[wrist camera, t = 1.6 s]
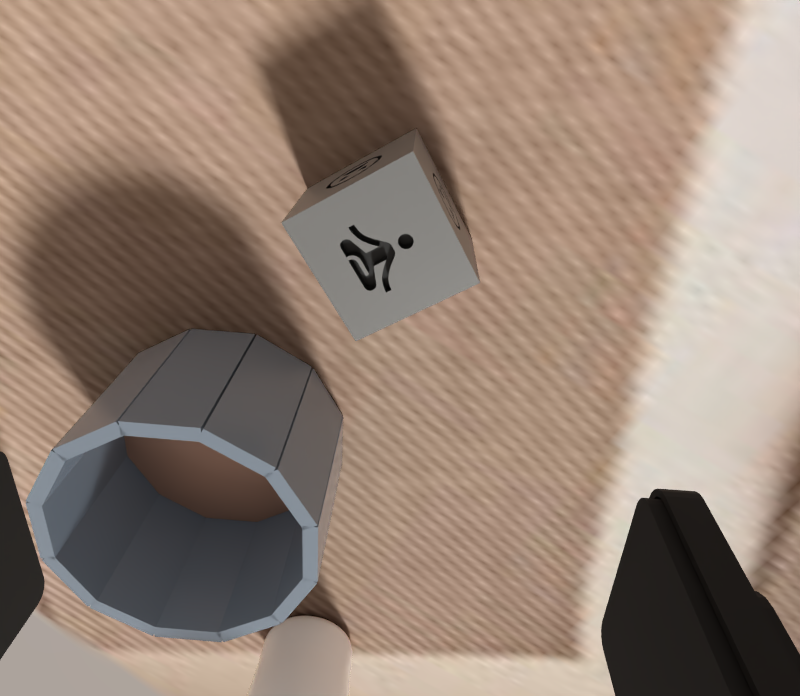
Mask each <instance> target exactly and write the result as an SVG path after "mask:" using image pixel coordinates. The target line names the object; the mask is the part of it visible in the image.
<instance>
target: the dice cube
mask: <svg viewBox="0 0 800 696" xmlns="http://www.w3.org/2000/svg"><path fill="white" fill-rule="evenodd" d="M282 225H283V226H284V228H285V229H286V231H287V233H288V234H289V236H290V237H291V239H292V241H293V242H294V244H295V245H296V247H297V249H298V250H299V252H300V253H301V255H302V257H303V258H304V260H305V261H306V263H307V264H308V266H309V268H310V269H311V271H312V272H313V274H314V276H315V277H316V279H317V280H318V282H319V284H320V285H321V287H322V288H323V290H324V292H325V293H326V295H327V296H328V298H329V299H330V301H331V303H332V304H333V306H334V307H335V309H336V311H337V312H338V314H339V315H340V317H341V319H342V320H343V322H344V323H345V325H346V327H347V328H348V330H349V331H350V333H351V335H352V336H353V338H354V339H355V341H357V340H359V339H362V338H364V337H366V336H368V335H370V334H372V333H374V332H377V331H379V330H381V329H383V328H385V327H387V326H389V325H391V324H394V323H396V322H398V321H400V320H402V319H404V318H406V317H408V316H411V315H413V314H415V313H417V312H419V311H421V310H423V309H426V308H428V307H430V306H432V305H434V304H436V303H438V302H440V301H443V300H445V299H447V298H449V297H451V296H453V295H455V294H457V293H460V292H462V291H464V290H466V289H468V288H470V287H472V286H474V285H477V284H479V283H480V280H479V275H478V269H477V264H476V258H475V253H474V248H473V242H472V239H471V237H470V235H469V233H468V231H467V229H466V227H465V225H464V223H463V221H462V219H461V217H460V215H459V213H458V211H457V209H456V206H455V204H454V202H453V200H452V198H451V196H450V194H449V192H448V190H447V188H446V186H445V184H444V182H443V180H442V178H441V176H440V174H439V172H438V170H437V168H436V166H435V164H434V162H433V160H432V158H431V156H430V154H429V152H428V150H427V148H426V146H425V144H424V142H423V140H422V138H421V136H420V134H419V132H418V130H417V128H416V129H414V130H412V131H410V132H409V133H407V134H405V135H403V136H401V137H399V138H398V139H396V140H394V141H392V142H390V143H389V144H387V145H385V146H383V147H381V148H380V149H378V150H376V151H374V152H372V153H371V154H369V155H367V156H365V157H363V158H362V159H360V160H358V161H356V162H354V163H353V164H351V165H349V166H347V167H345V168H344V169H342V170H340V171H338V172H336V173H334V174H333V175H331V176H329V177H327V178H325V179H324V180H322V181H320V182H318V183H316V184H315V185H313V186H311V187H309V188H307V190H306V191H305V192H304V194H303V195H302V196H301V198H300V199H299V200H298V201H297V203H296V204H295V205H294V207H293V208H292V209H291V211H290V212H289V213H288V215H287V216H286V217H285V219H284V220H283V221H282Z"/></svg>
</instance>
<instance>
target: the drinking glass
mask: <svg viewBox="0 0 800 696" xmlns="http://www.w3.org/2000/svg"><path fill="white" fill-rule="evenodd" d="M352 657H353V651H352V645H351V642H350V640H349V638H348V636H347V634H346V633H345V632H344V631H343V630H342V629H341V628H340V627H339V626H337V625H336V624H334V623H332V622H330V621H328V620H326V619H323V618H320V617H315V616H295V617H290V618H287V619H285V621H284V622H283V623H281V624H279V625H276V626H274V627H273V628H272V629H271V630H270V631H269V633H268V634H267V636H266V639H265V641H264V645H263V648H262V652H261V655H260V659H259V663H258V666H257V669H256V671H255V674H254V677H253V680H252V683H251V685H250V688H249V691H248V694H247V696H349V684H350V674H351V666H352Z"/></svg>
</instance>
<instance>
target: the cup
mask: <svg viewBox="0 0 800 696" xmlns="http://www.w3.org/2000/svg"><path fill="white" fill-rule="evenodd" d="M342 441H343V415H342V414H341V412H340V410H339V409H338V407H337V406H336V404H335V402H334V401H333V399H332V398H331V396H330V394H329V393H328V391H327V390H326V388H325V386H324V385H323V383H322V382H321V380H320V378H319V377H318V375H317V374H316V372H315V370H314V369H313V368H312V369H311V366H310V365H308V364H306V363H304V362H303V361H301V360H299V359H298V358H296V357H294V356H293V355H291V354H289V353H287V352H286V351H284V350H282V349H281V348H279V347H277V346H276V345H274V344H272V343H270V342H269V341H267V340H265V339H264V338H262V337H260V336H259V335H256V337H255V334H250V333H237V332H225V331H213V330H200V329H191V330H190V329H189V330H187V331H185V332H182V333H180V334H178V335H176V336H174V337H172V338H170V339H167V340H165V341H163V342H161V343H159V344H157V345H155V346H152V347H150V348H148V349H146V350H144V351H142V352H139V353H138V354H137V355H136V356H135V358H134V359H133V360H132V361H131V362H130V363H129V364H128V365H127V366H126V368H125V369H124V370H123V371H122V372H121V373H120V374H119V375H118V377H117V378H116V379H115V380H114V381H113V382H112V383H111V384H110V385H109V387H108V388H107V389H106V390H105V391H104V392H103V393H102V394H101V395H100V397H99V398H98V399H97V400H96V401H95V402H94V403H93V404H92V405H91V407H90V408H89V409H88V410H87V411H86V412H85V413H84V414H83V416H82V417H81V418H80V419H79V420H78V421H77V422H76V423H75V424H74V426H73V427H72V428H71V429H70V430H69V431H68V432H67V433H66V434H65V436H64V437H63V438H62V439H61V440H60V441H59V442H58V443H57V445H56V446H55V447H54V448H53V449H52V450H51V452H50V454H49V456H48V458H47V460H46V462H45V464H44V466H43V468H42V470H41V472H40V474H39V476H38V478H37V480H36V482H35V484H34V486H33V488H32V490H31V492H30V494H29V496H28V498H27V500H26V501H27V502H26V506H27V510H28V513H29V517H30V521H31V524H32V528H33V532H34V535H35V539H36V543H37V546H38V550H39V554H40V557H41V558H43V559H42V561H43V562H44V563H45V564H46V565H47V566H48V567H49V568H50V569H51V570H52V571H53V572H54V573H55V574H56V575H57V576H58V577H59V578H60V579H61V580H62V581H63V582H64V583H65V584H66V585H67V586H68V587H69V588H70V589H71V590H72V591H73V592H74V593H75V594H76V595H77V596H78V597H79V598H80V599H81V600H82V601H83V602H84V603H85V604H86V605H87V606H90V605H91V606H90V608H91V609H94V610H96V611H98V612H100V613H103V614H105V615H107V616H109V617H112V618H114V619H116V620H118V621H120V622H123V623H125V624H127V625H129V626H132V627H134V628H136V629H138V630H141V631H143V632H145V633H147V634H150V635H152V636H153V635H155V636H156V637H167V638H179V639H190V640H202V641H214V642H222V641H223V642H225V641H228V640H231V639H235V638H238V637H241V636H244V635H247V634H251V633H254V632H257V631H260V630H263V629H267V628H270V627H273V626H276V625H279V624H281V623H283V622H284V621H285V619H286V618H287V617H288V616H289V615H290V614H291V613H292V611H293V610H294V609H295V608H296V607H297V606H298V605H299V603H300V602H301V601H302V600H303V599H304V598H305V597H306V595H307V594H308V593H309V592H310V591H311V590H312V589H313V587H314V586H315V585H316V584H317V582H318V578H319V573H320V568H321V563H322V558H323V553H324V549H325V544H326V539H327V534H328V529H329V524H330V520H331V515H332V510H333V505H334V500H335V495H336V491H337V486H338V481H339V476H340V471H341V466H342Z"/></svg>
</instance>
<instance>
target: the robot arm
mask: <svg viewBox="0 0 800 696" xmlns="http://www.w3.org/2000/svg"><path fill="white" fill-rule="evenodd" d="M43 590H44V576H43V573H42V570H41V566H40V563H39V560H38V557H37V553H36V550H35V547H34V544H33V540H32V537H31V534H30V531H29V527H28V524H27V521H26V518H25V514H24V511H23V508H22V505H21V502H20V498H19V495H18V492H17V489H16V485H15V482H14V479H13V476H12V472H11V469H10V466H9V463H8V459H7V457H6V455H5V454H4V453H3V452H0V659H1V658H2V656H3V655H4V653H5V652H6V650H7V649H8V647H9V646H10V645H11V643H12V642H13V640H14V639H15V637H16V636H17V634H18V633H19V631H20V630H21V628H22V627H23V625H24V624H25V623H26V621H27V620H28V618H29V617H30V615H31V614H32V612H33V611H34V609H35V608H36V606H37V605H38V603H39V601H40V599H41V597H42V594H43ZM601 637H602V645H603V650H604V654H605V658H606V662H607V665H608V669H609V673H610V677H611V681H612V684H613V688H614V692H615V696H800V654H799V652H798V651H797V649H796V647H795V645H794V644H793V642H792V640H791V638H790V637H789V635H788V633H787V631H786V630H785V628H784V626H783V624H782V623H781V621H780V619H779V617H778V615H777V614H776V612H775V610H774V608H773V607H772V606H771V604H770V603H769V602H768V600H767V599H766V598H765V597H764V596H763V595H761V594H760V593H759V592H757V591H754V589H753V588H752V586H751V584H750V582H749V580H748V579H747V577H746V575H745V573H744V571H743V570H742V568H741V566H740V564H739V562H738V561H737V559H736V557H735V555H734V553H733V552H732V550H731V548H730V546H729V544H728V542H727V541H726V539H725V537H724V535H723V533H722V532H721V530H720V528H719V526H718V524H717V523H716V521H715V519H714V517H713V515H712V514H711V512H710V510H709V508H708V506H707V505H706V503H705V501H704V499H703V498H702V496H701V495H700V494H699V493H697V492H695V491H681V490H668V489H655V490H654V491H653V492H652V493H651V495H650V498H641V499H640V500H639V501H638V503H637V506H636V509H635V513H634V516H633V519H632V523H631V526H630V530H629V533H628V536H627V540H626V543H625V547H624V550H623V553H622V557H621V560H620V563H619V567H618V570H617V574H616V577H615V580H614V584H613V587H612V591H611V594H610V597H609V601H608V604H607V607H606V611H605V614H604V618H603V621H602V629H601Z"/></svg>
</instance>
